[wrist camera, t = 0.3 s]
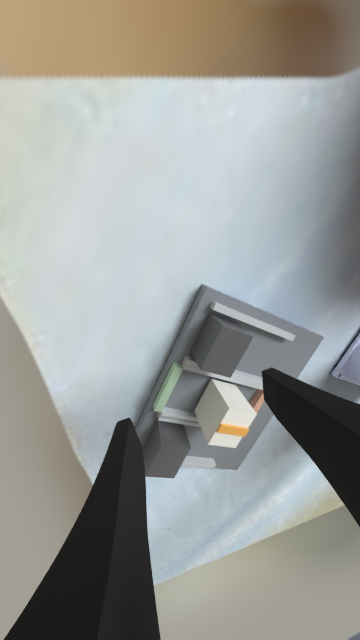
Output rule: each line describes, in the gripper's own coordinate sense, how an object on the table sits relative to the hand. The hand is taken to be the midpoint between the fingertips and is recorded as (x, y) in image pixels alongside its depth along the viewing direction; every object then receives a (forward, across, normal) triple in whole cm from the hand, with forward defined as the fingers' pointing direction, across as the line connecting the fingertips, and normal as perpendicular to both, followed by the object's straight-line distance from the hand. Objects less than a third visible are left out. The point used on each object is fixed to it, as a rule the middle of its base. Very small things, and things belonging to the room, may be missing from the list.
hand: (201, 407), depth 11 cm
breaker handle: (+8, -3, +8) cm, 12 cm away
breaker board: (+10, -4, +9) cm, 14 cm away
